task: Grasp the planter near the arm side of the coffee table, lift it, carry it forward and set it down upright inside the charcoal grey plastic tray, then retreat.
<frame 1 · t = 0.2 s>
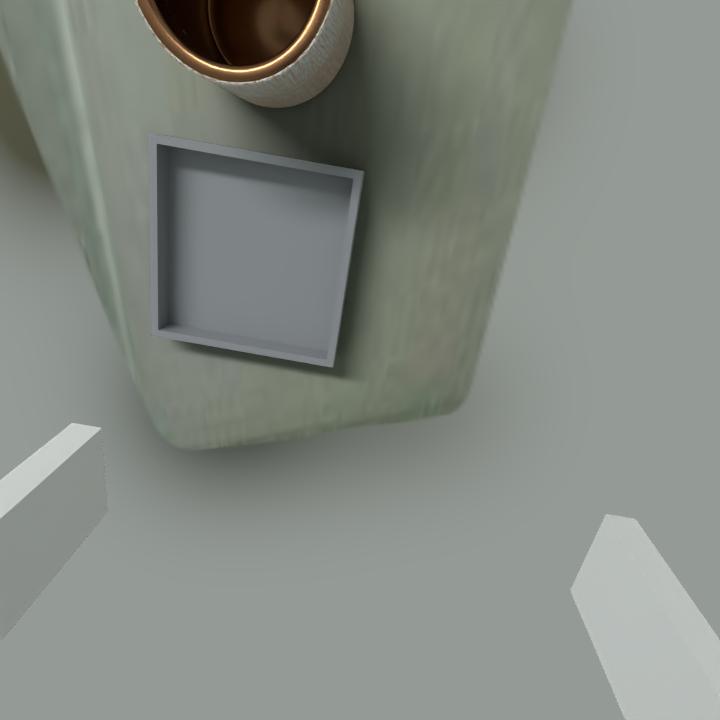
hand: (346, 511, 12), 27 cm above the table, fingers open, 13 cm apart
planter: (276, 19, 31), on the table
tray: (257, 254, 37), on the table
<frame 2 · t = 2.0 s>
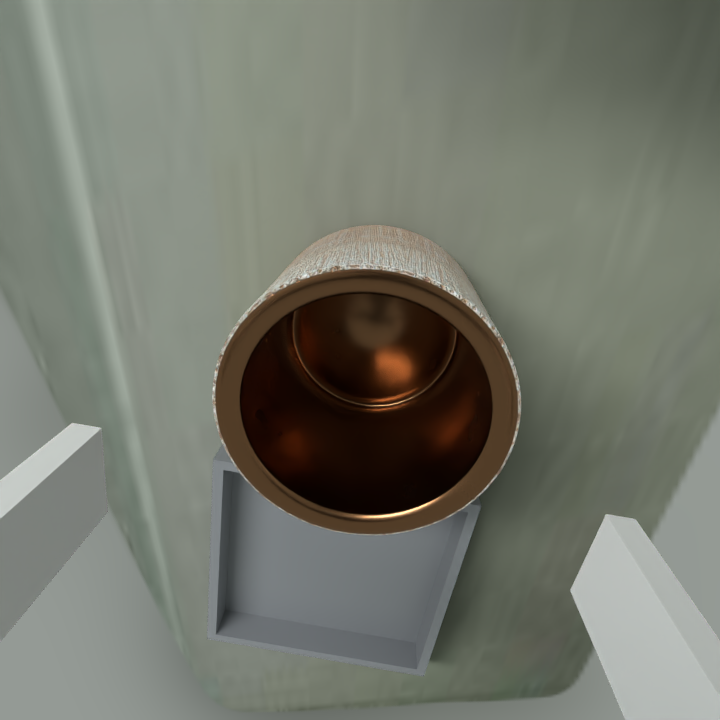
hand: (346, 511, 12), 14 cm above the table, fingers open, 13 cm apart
planter: (374, 326, 25), on the table
tray: (334, 548, 31), on the table
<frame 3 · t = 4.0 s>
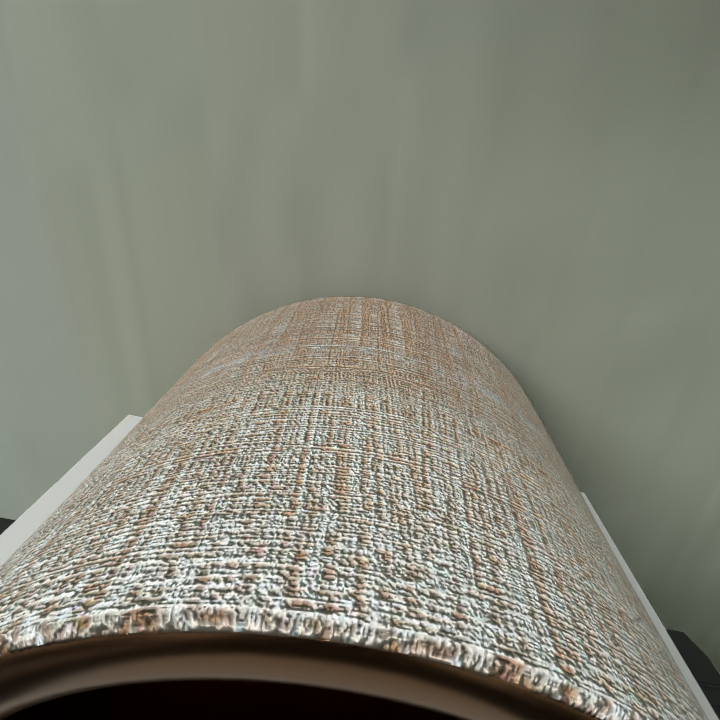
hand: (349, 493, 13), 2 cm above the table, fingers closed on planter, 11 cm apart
planter: (353, 457, 14), on the table, touching gripper
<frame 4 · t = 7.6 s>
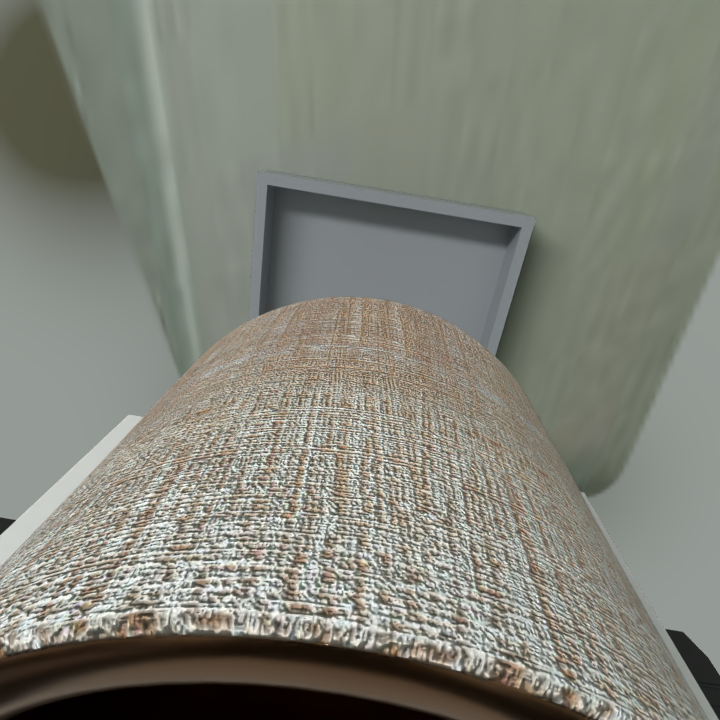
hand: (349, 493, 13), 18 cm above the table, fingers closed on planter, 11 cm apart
planter: (353, 457, 14), point 17 cm above the table, touching gripper
tray: (375, 314, 30), on the table
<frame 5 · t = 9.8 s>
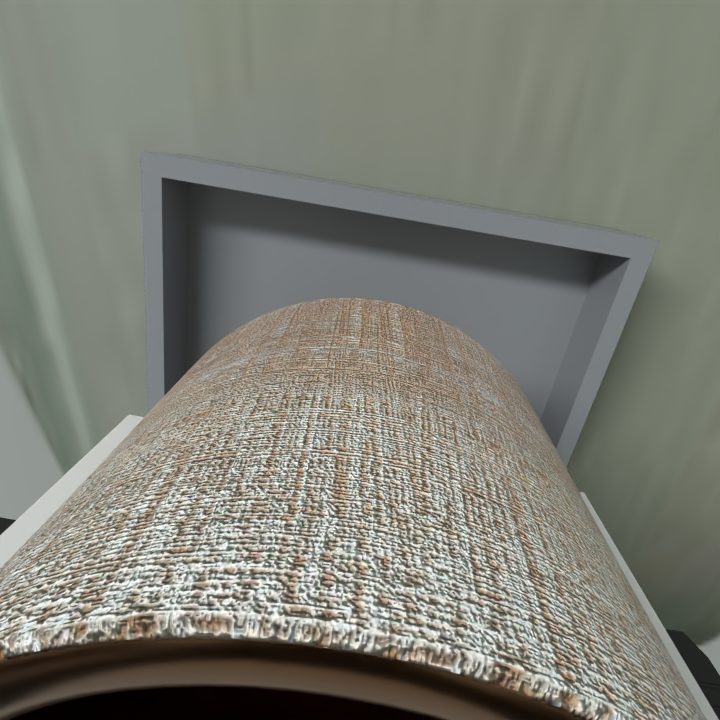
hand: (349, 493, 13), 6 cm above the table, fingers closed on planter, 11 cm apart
planter: (353, 458, 14), point 5 cm above the table, touching gripper
tray: (363, 389, 19), on the table
when the fingers open (4 cm above the table, at t = 11.4 s): planter drops 2 cm, resting on tray.
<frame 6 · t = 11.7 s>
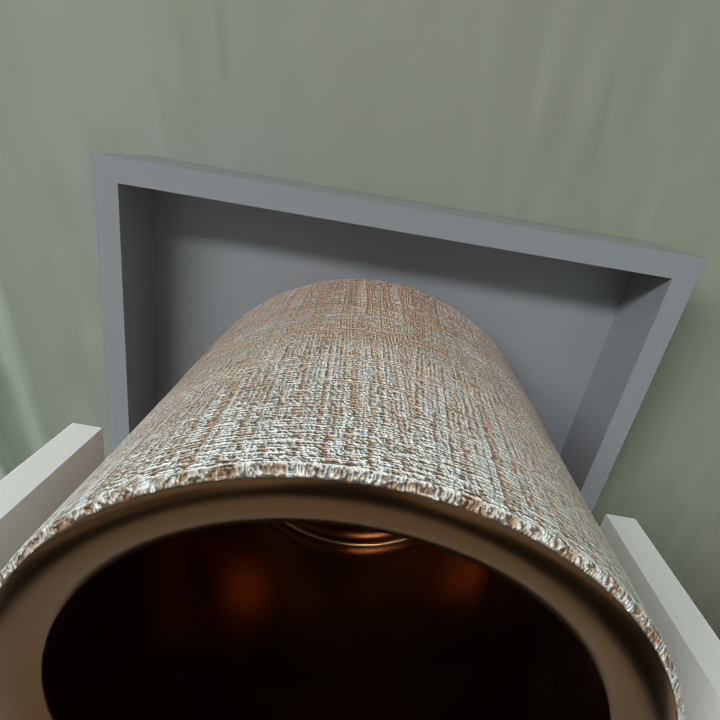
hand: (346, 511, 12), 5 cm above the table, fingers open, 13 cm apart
planter: (358, 425, 16), resting on tray
tray: (358, 421, 16), on the table
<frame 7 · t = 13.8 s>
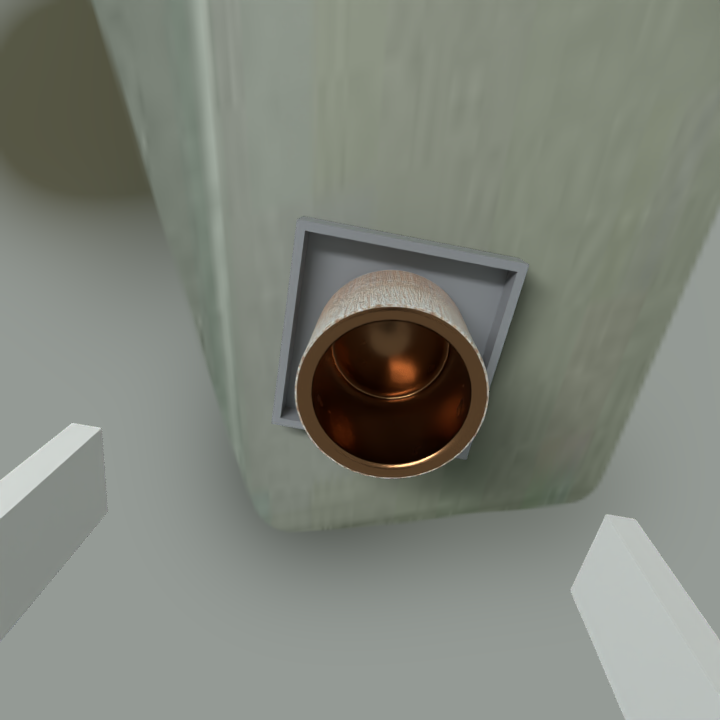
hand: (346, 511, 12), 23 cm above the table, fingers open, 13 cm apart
planter: (389, 340, 34), resting on tray
tray: (389, 339, 35), on the table
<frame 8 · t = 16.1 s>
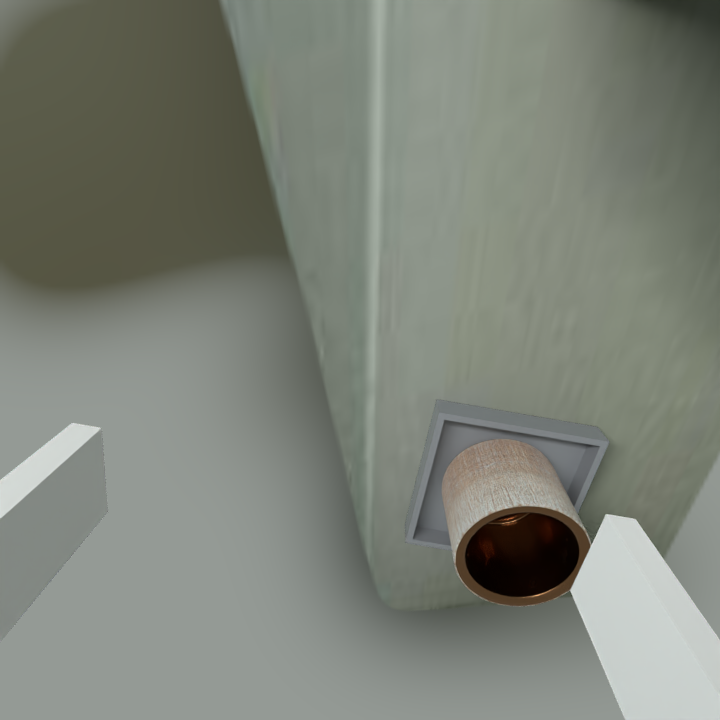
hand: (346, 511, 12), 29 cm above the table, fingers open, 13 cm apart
planter: (496, 481, 45), resting on tray
tray: (495, 479, 46), on the table
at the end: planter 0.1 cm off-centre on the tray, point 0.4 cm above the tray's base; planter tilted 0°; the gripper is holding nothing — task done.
